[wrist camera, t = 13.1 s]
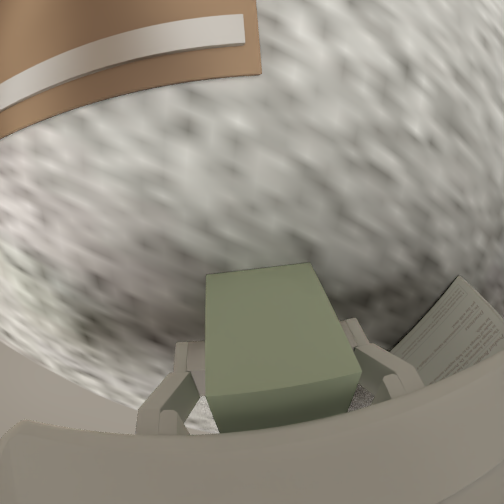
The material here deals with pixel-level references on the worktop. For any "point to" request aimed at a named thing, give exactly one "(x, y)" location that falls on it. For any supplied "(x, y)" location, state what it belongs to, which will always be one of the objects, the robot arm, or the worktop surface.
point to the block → (274, 350)
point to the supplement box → (452, 334)
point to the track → (115, 50)
